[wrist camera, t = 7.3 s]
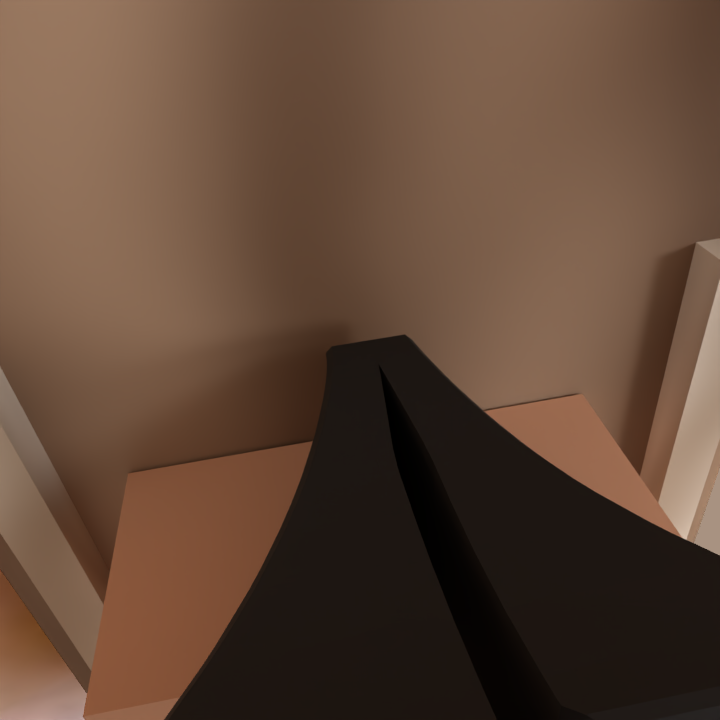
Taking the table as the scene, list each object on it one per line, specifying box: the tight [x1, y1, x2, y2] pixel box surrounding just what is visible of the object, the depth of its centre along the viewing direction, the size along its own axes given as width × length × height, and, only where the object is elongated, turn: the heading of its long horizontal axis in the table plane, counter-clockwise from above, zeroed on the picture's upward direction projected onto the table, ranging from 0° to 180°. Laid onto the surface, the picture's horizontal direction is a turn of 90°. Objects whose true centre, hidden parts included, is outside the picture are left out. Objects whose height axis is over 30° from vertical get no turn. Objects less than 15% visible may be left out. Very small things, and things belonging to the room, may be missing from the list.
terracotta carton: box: [83, 394, 682, 720], centre depth 13 cm, size 9×8×4 cm
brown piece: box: [0, 0, 720, 693], centre depth 12 cm, size 16×22×3 cm
